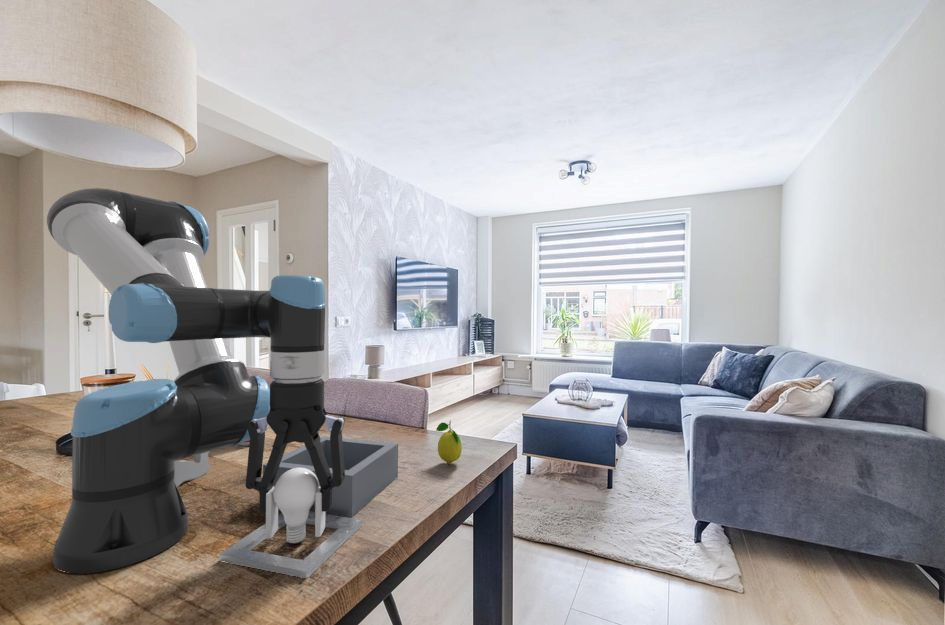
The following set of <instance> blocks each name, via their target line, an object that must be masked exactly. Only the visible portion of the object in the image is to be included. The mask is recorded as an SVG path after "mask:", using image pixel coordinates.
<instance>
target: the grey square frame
mask: <svg viewBox="0 0 945 625" xmlns="http://www.w3.org/2000/svg"><path fill="white" fill-rule="evenodd" d="M306 525H309V526H315V512H313V511H309V514H308V518H307V520H306ZM285 526H286V523H285V520H284V516H283V513H282V512H281V513H278V530H277V531H280V530H281V529H282V528H283V527H285ZM362 526H363V519H362V518H354V517H346V516H340V515H333V514H327V513H325V528H329V529H333V530H334V529H335V531H334V532H333V533H332V534H331V535H329V537H327V539H326V540H324V541H323V542H322V543H321V544H320V545H318V546H317V547H316V548H315V549H314V550H313V551H312V552H310V554H308V555H307V556H306V557H305V558H303V559H298V558H293V557H290V556H282V555H278V554H277V555H276V554H271V553H267V552H263V551H256V550H252V549H254V548H255V547H256V546H258V545H259V544H261V543H262V542H264V541H265V540H267V539H266V522H265V523H264V524H263V525H261V526H260V527H258V528H257V529H255V530H253V531H252V532H250V533H249V534H247V535H246V536H245V537H243V538H241V539H240V540H237V542H235V543H234V544H232V545H231V546H229V547H228V548H226V549H225V550H223V551H222V552H220V553H219V554H218V562H219V561H225V562H228V563H233V564H238V565H242V566H247V567H253V568H257V569H262V570H267V571H271V572H270V573H272V572H276V573H275V574H277V573H282V574H287V575H290V576H289V577H292V576H291V575H293V576H296V577H295V578H297V576H298V577H300V578H299V579H302V578H307V577H308V578H309V577H311V575H313V573H315V571H317V569H319V568H320V567H321V566H322V565H323V564H324V563H325V562H326V561H327V560H328V559H329V558H330V557H331V556H333V554H334V553H336V551H337V550H338V549H339V548H340V547H342V546H343V544H345V543H346V542H347V541H348V540H349V539H350V538H351V537H352V536H353V535H354V534H355V533H356V532H357V531H358V530H359V529H360V528H361V527H362ZM277 531H276V532H277ZM242 566H241V567H242ZM247 567H246V568H247ZM257 569H256V570H257ZM262 570H261V571H262ZM267 571H266V572H267ZM282 574H281V575H282ZM287 575H286V576H287ZM301 577H302V578H301ZM308 578H307V579H308Z"/></svg>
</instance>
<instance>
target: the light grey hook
mask: <svg viewBox="0 0 945 625" xmlns="http://www.w3.org/2000/svg"><path fill="white" fill-rule="evenodd" d="M209 453H210V451H209V452H206V453H202V454H198V455H194V460H183V459H180V460H176V461H175V484H176V486H177V488H178V487H179V486H180V485H181V484H183V483H184V482H186V481H192V480H197V479H199V478H201V477H202V476H204V475H206V474H207V472H209V471H210V470H211V467H212V464H210V459H209V458H210V456H209Z"/></svg>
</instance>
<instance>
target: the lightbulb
mask: <svg viewBox="0 0 945 625" xmlns="http://www.w3.org/2000/svg"><path fill="white" fill-rule="evenodd" d="M318 489H319V481H318V478H317V476H316V475H315V474H314V473H313V472H312V471H311V470H309V469H307V468H301V467H299V468H293V469H290V470H288V471H286V472H285V473H284V474H282V475H281V476H280V478H279V479H278V480H277V482H276V484H275V487H274V491H273V497H274V501H275V503H276V505H277V507H278V510H279V511H280V512H281V513H283V516H284V520H285V523H286V525H285V526H286V528H285V529H286V533H285V534H286V540H285V541H286V542H287V543H289V544H293V545H296V544H299V543H300V542H302V541H304V540H305V539H306V537H307V536H306V535H307V533H306V532H307V530H306V526H307V524H306V520H307V518H308V514H309V512H310V511H309V510H310V508H311V507H312V505H313V504H314V502H315V500H316V491H317V490H318Z"/></svg>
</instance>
